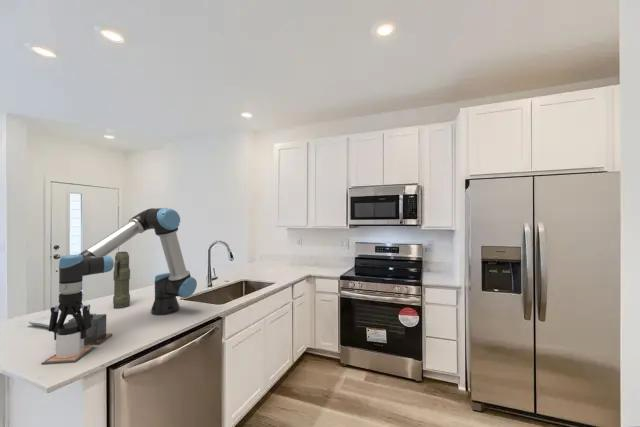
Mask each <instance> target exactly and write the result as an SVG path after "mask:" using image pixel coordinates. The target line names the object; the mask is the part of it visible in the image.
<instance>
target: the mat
mask: <svg viewBox="0 0 640 427" xmlns="http://www.w3.org/2000/svg"><path fill="white" fill-rule="evenodd" d="M94 349H96V346H95V345H94V346H84V350H83V351H82V352H81V353H80V354H79V355H77V356H73V357H70V358H66V359H63V358H56V353H55V354H54V355H52V356H50V357H49V358H47V359H45V360H44V361H43V362H41V365H42V366H43V365H56V364H58V365H59V364H71V363H72V364H73V363H76V362H77V363H78V361H80V360H81V359H83V357H86V355H88V354H89V353H90V352H92V351H93V350H94Z"/></svg>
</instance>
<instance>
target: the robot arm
mask: <svg viewBox="0 0 640 427" xmlns="http://www.w3.org/2000/svg"><path fill="white" fill-rule="evenodd" d="M180 223H181V217H180V215H179V213H178V211H176V210H175V209H172V208H168V207H160V208H157V207H156V208H153V207H152V208H147V209H145V210H143V211H141V212H139V213H137V214H136V215H134V216H132V217H131V218H130V219H128V222H127V223H126V224H123V225H122V226H120V227H118V229H116V230H114V231H112V232H111V233H110V234H108V235H107V236H105V237H104V238H102V239H100V240H99V241H97V242H96V243H94V244H93V245H91V246H89V247H88V248H87V249H85V250H83V251H82V252H80V253H77V254H66V255H62V256H60V257H59V262H58V274H59V275H58V278H59V279H58V280H59V281H58V293H59V294H58V303H59V304H58V305H55V306H54V305H53V306H52V307H51V308H50V315H51V318H50V324H49V328H48V332H49V333H50V332H52V333H53V334H54V335H53V338H54V339H53V340H54V341H56V335H57V334H58V327H59V326H61V325H63V324H64V321H65V319H66V317H67V315H72V316H73V317H74V318H75V320H76V323H77V325H78V326H79V329H80V331H79V332H80V347H82V346H83V345H84V338H86V330H88V329H89V328H91V327H92V326H91V318H90V312H91V311H90V308H91V304H87V305H86V304H84V303H83V281H84V280H83V278H84V276H85V277H86V276H90V275H98V274H104V273H108V272H111V271H112V270H113V268H114V263H115V260H114V259H113V258H112V257H111V256H110V255H109V254H110V253H112V252H113V251H116V249H117V248H119V247H120V246H122V245H124V243H127V242H128V241H130V239H132V238H133V237H134V236H136V235H138V234H143V233H144V232H145V231H149V230H154V232H155V233H154V234H155V235H156V236H157V237H159V240H160V242H161V247H162V249H163V250H162V251H163V253H164V257H165V260H166V264H167V268H168V270H169V271H168V272H165V273H160V274H157V275H155V276H154V301H153V304H152V306H151V309H150V313H151V315H154V316H164V315H170V314H174V313H176V312H179V311H180V305H179V301H178V298H177V297H179V298H188V297H191V296H192V295H193V294H194V293H195V291H196V290H197V286H198V281H197V279H196V278H195V277H192V276H191V273H190V271H189V270H187V268H186V264H185V261H184V257H183V252H182V250H181V246H180V241H179V237H178V235H177V232H178V231H179V227H180ZM80 310H82V311H83V318H82V315H81V311H80ZM59 312H61V314H60V316H59V317H60V318H59V320H58V322H57V319H58V313H59ZM76 313H77V314H76ZM83 319H84V320H83ZM84 346H85V345H84ZM80 347H79V348H80Z"/></svg>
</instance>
